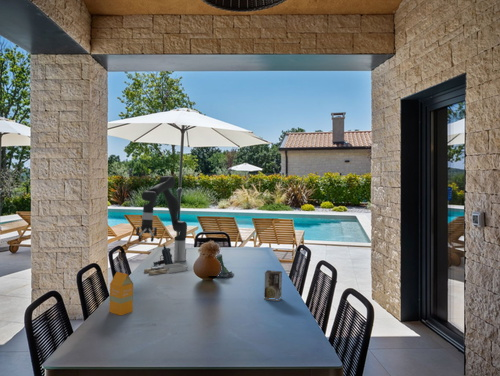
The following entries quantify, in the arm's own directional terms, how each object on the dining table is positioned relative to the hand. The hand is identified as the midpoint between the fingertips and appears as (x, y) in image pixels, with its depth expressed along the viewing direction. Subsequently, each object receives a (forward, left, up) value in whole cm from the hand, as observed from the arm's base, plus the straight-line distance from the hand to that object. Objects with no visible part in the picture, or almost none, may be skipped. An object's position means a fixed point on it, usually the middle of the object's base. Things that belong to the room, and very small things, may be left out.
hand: (145, 241), depth 269 cm
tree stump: (-43, +34, -24) cm, 60 cm away
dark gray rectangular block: (-7, +1, -23) cm, 24 cm away
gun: (-23, -16, -24) cm, 37 cm away
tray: (-23, +1, -23) cm, 32 cm away
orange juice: (+43, +65, -24) cm, 81 cm away
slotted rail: (-8, +1, -23) cm, 25 cm away
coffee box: (-36, +95, -24) cm, 104 cm away
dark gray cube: (-12, +1, -23) cm, 26 cm away
